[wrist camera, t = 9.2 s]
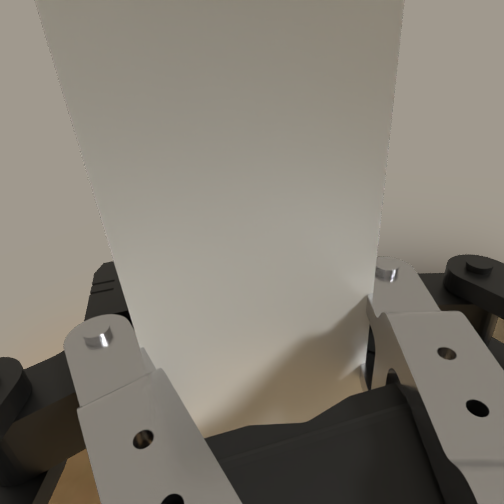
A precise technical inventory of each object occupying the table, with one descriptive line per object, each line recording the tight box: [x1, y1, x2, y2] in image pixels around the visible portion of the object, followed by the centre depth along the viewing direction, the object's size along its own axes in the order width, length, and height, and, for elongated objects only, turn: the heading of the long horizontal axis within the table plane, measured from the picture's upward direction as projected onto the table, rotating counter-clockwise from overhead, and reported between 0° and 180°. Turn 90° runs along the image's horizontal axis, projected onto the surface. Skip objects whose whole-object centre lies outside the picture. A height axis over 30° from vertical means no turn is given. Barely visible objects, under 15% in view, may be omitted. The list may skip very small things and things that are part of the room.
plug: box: [35, 0, 404, 438], centre depth 10 cm, size 5×5×18 cm
